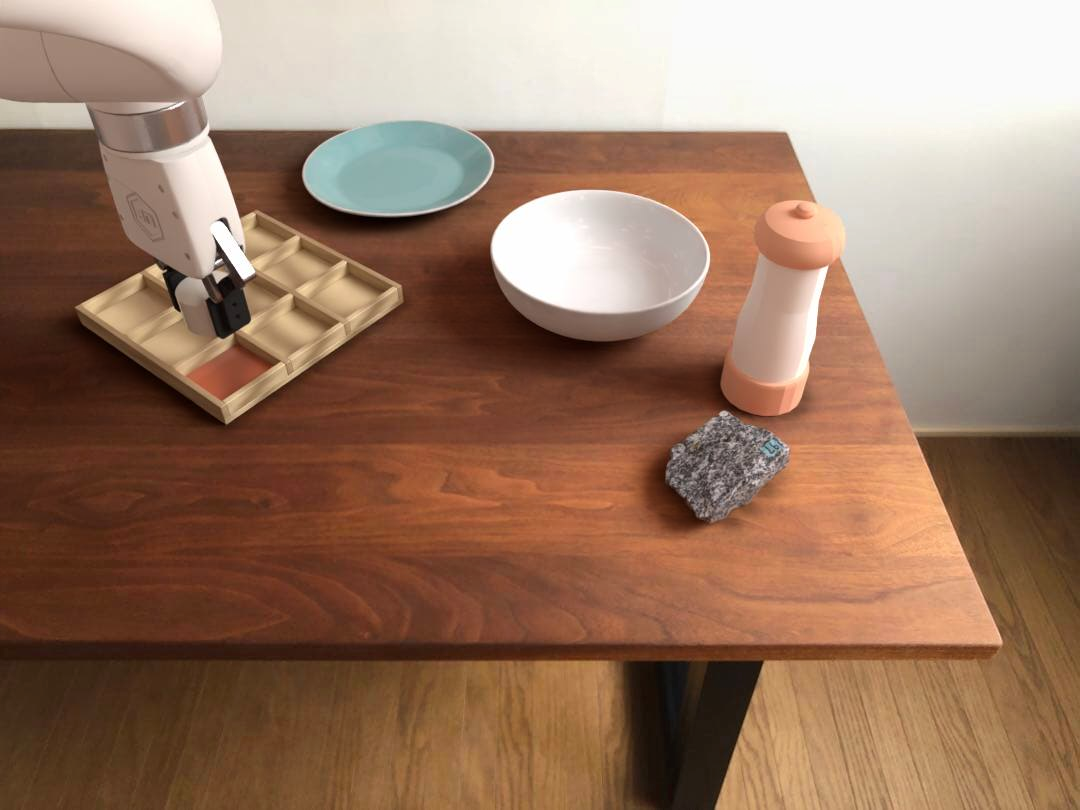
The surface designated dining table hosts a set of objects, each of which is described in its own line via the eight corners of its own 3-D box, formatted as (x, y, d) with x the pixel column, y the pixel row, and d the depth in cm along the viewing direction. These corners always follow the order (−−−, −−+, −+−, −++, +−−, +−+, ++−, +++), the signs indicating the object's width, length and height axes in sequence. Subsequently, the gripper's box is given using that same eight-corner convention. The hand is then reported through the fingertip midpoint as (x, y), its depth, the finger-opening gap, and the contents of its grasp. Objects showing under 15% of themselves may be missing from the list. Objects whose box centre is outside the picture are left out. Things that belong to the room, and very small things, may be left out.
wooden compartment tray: (226, 425, 77) (220, 407, 75) (81, 324, 86) (74, 307, 85) (403, 302, 89) (401, 285, 88) (260, 225, 99) (256, 209, 97)
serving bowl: (731, 355, 84) (743, 297, 79) (512, 385, 81) (511, 326, 76) (664, 233, 99) (671, 178, 94) (476, 254, 95) (474, 198, 91)
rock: (638, 481, 73) (642, 445, 70) (725, 427, 77) (733, 392, 74) (703, 541, 69) (711, 506, 66) (792, 481, 73) (804, 446, 70)
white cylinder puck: (209, 344, 73) (199, 313, 71) (173, 320, 75) (162, 290, 73) (255, 315, 76) (247, 284, 74) (219, 293, 78) (210, 263, 76)
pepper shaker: (795, 363, 83) (847, 181, 70) (807, 418, 78) (865, 233, 65) (717, 359, 84) (754, 177, 70) (723, 414, 79) (764, 229, 65)
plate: (266, 188, 104) (261, 166, 102) (405, 121, 117) (403, 100, 115) (395, 262, 94) (393, 239, 92) (533, 180, 106) (533, 158, 104)
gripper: (33, 98, 64) (115, 299, 77) (179, 176, 57) (243, 383, 70) (125, 63, 69) (188, 259, 81) (271, 131, 61) (315, 334, 74)
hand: (213, 314), depth 76 cm, fingers closed on white cylinder puck, 4 cm apart
